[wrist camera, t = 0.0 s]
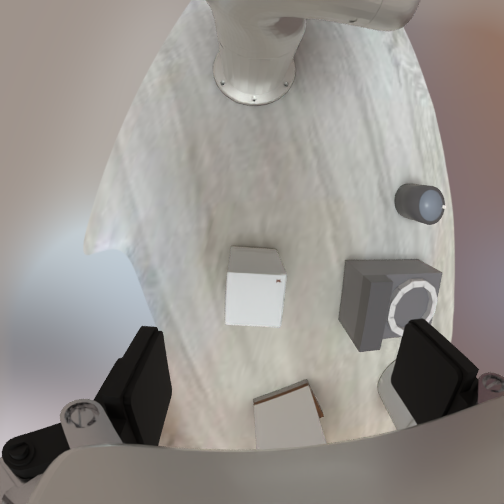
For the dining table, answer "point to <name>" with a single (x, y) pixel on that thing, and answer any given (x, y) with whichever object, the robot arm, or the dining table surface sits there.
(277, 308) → the supplement box
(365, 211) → the dining table surface
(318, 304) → the dining table surface
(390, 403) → the utensil holder
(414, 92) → the dining table surface
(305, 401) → the slotted white tower
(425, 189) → the lens
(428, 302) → the camera body
